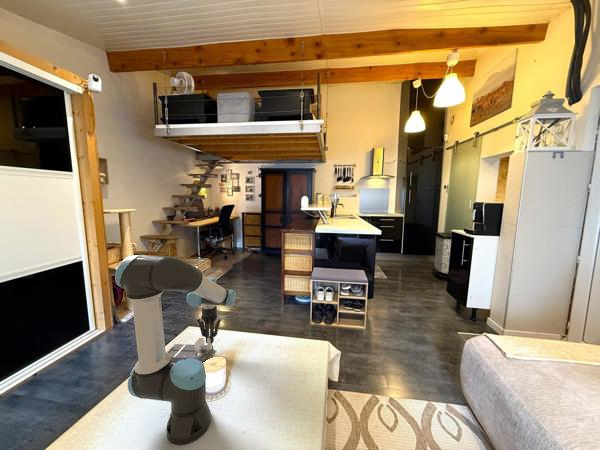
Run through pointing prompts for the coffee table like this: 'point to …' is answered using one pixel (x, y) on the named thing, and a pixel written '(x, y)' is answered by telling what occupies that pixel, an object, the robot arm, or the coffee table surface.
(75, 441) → the coffee table surface
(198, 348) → the fader
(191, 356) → the console
